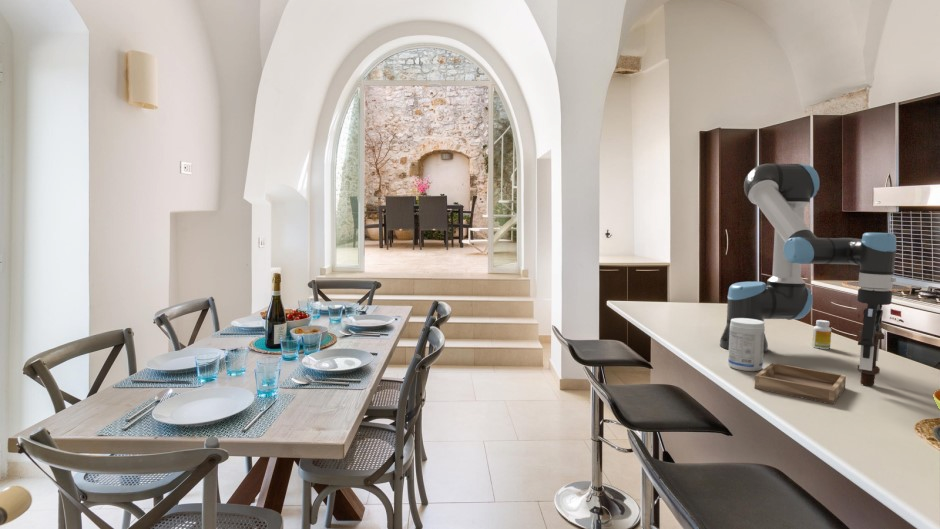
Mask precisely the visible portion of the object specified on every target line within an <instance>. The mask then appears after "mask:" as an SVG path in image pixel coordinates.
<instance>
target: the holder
mask: <svg viewBox="0 0 940 529" xmlns="http://www.w3.org/2000/svg"><path fill="white" fill-rule="evenodd" d="M846 383H847V375H845V374H839V373H833V372H827V371H823V370H822V371H821V370H817V369H811V368H805V367H804V368H803V367H799V366H793V365H787V364H782V363H776V362H771V363H770V364H769V365H767V366H766V367H765V368H764V369H763V368H762V369H761V370H760V371H759V372H758V373H757V374H755V375H754V387H753V388H754V389H756V388H757V389H756V390H761V389H762V391H767V392H770V391H771V393H775V392H777V394H780V393H782V394H781V395H785V394H786V396H790V395H792V396H791V397H795V396H798V397H797V398H799V397H803V398H802V399H804V398H807V399H806V400H809V399H812V400H811V401H814V400H816V401H815V402H819V401H821V402H820V403H824V402H826V403H825V404H828V403H831V404H830V405H834V404H835V403H836V401H837V400H838V399H839V398H840V396H841V395H842V393H843V392H844V391H845V389H846ZM842 391H843V392H842ZM840 394H841V395H840ZM839 395H840V396H839ZM837 398H838V399H837ZM834 402H835V403H834Z"/></svg>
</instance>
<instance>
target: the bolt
mask: <svg viewBox="0 0 940 529" xmlns="http://www.w3.org/2000/svg"><path fill="white" fill-rule="evenodd" d="M857 336H858V337H861V336H862V330H858V335H857ZM879 339H880V340H884V339H885V334H884V333H883V332H882V331H881V332H877V331H875V336H874V342H873V344H874V345H873V346H874V351H873V363H872V371H869V370H863V369H859V365H860V363H859V364H858V365H857V369H856V370H857V371H858V372H859V373H860V381H859V382H860V384H861V385H862V384H863V385H862V386H865V385H866V386H865V387H867V386H868V387H871V386H872V387H873V386H874V385H875V380H876V378H875V377H876V375H878V374H880V372H881V371H880V370H881V368H880V367H879V366H877V361H876V356H877V347H878V341H879Z"/></svg>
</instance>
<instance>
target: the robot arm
mask: <svg viewBox="0 0 940 529" xmlns="http://www.w3.org/2000/svg"><path fill="white" fill-rule="evenodd" d="M743 189H744V190H743V191H744V195H745V196H746V197H747V199H748V200H749V202H751V204H753V205H756V206H757V207H758V209H760V211H761V212H762V214H763V215H764V216H765V217H766V219H767V220H768V222H769V223H770V224H771V225H772V227H773V228H774V237H773V238H774V239H773V240H774V241H773V243H774V244H773V253H772V255H773V256H772V257H773V258H772V276H771V277H769V278H768V279H767V282H766V283H765V282H764V281H758V280H757V281H740V282H735V283H732V284H731V285H730V286H729V288H728V292H727V310H726V324H725V325H726V326H725V327H724V330H723V332H722V334H721V337H720V339H719V347H721V348H723V349H726V350H729V334H730V323H731V319H734V318H749V319H756V320H760V321H763V322H764V323H765V320H788V321H789V320H791V321H792V320H800V319H803V318H805V316H806V315H808V314H809V312H810V311H811V309H812V307H813V303H814V301H813V294H812V290H810V288H808V287H807V286H806V281H805V280H804V279H803V278H802V277H801V276H802V274H801V273H802V265H807V264H809V265H813V264H814V265H816V264H817V265H819V264H820V265H823V264H824V265H825V264H826V265H828V264H829V265H855V266H859V273H858V284H857V286H858V287H859V288H858V290H857V297H856V298H857V302H859V303H862V304H867V307H866V308H865V309H863V321H862V323H863V324H862V336H861V338H860V341H858V342H857V345H858V346H860V356H859V364H860V365H859V364H858V365H859V369H863V370H869V371H872V363H873V351H874V346H873V345H874V344H873V342H874V336H875V331H877V332H882V330H881V329H882V320H883V319H882V318H883V313H884V310H883V309H882V308H883V306H888V305H891V304H892V299H893V291H891V290H892V289H893V284H894V282H896V281H897V279H896V278H894V275H895V274H894V273H895V264H896V263H895V262H896V256H897V255H896V254H897V249H898V247H897V236H896V235H895V233H892V232H864V233H863V234H862V237H861V238H853V237H837V238H836V237H835V238H833V237H817V236H816V234H815V233H814V232H813V231H812V230H811V229H810V228H809V226H808V225H807V224H806V223H805V208H806V207H807V206H808V205H810V203H811V199H812V198H814V197H815V196H816V195H817V194H818V191H819V189H820V177H819V174H818V172H817V170H815V167H813V166H812V165H809V164H802V163H764V164H760V165H757V166H755V167H754V168H752V169H751V170H750V171H749V172H748V173H747V175H746V176H745V178H744V183H743ZM880 340H881V339H879V341H878V347H877V356H876V362H878V361H879V351H880ZM768 348H769V344H768V339H767V337H766V333H765V332H764V349H763V353H766V352H768V350H769V349H768Z"/></svg>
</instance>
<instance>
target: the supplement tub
mask: <svg viewBox="0 0 940 529" xmlns="http://www.w3.org/2000/svg"><path fill="white" fill-rule="evenodd" d="M764 333H765V321H764V322H763V321H760V320H756V319H749V318H734V319H731V323H730V334H729V349H728V356H727V357H728V359H727V360H728V362H727V364H728V366H729V367H730V368H732V369H734V370H738V371H744V372H757V371H762V370H763V365H764V352H763V349H764Z"/></svg>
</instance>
